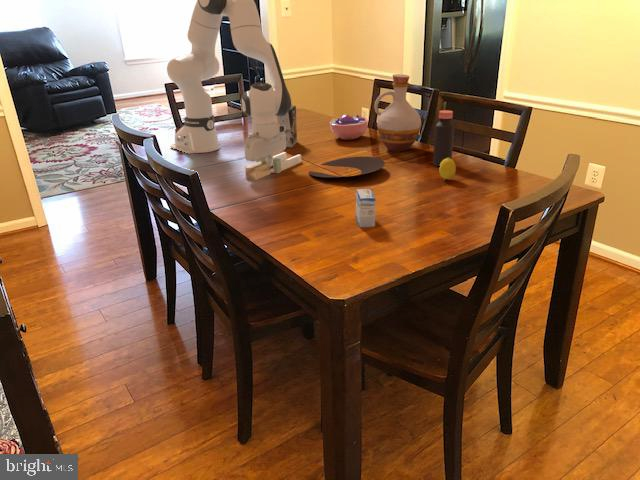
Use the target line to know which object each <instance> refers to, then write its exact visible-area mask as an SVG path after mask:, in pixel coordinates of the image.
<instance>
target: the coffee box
mask: <svg viewBox="0 0 640 480" xmlns="http://www.w3.org/2000/svg"><path fill="white" fill-rule="evenodd" d="M297 122H298V121H297V105H291V108H290V110H289V111H288V112H287V113H286V114H285V115H284V116H277V124H279V125H284V126H285V127H286V130H285V131H284V132H285V134H286V148H293V147H294V146H295V145H296V144H297V143H298V126H297V125H298V124H297Z"/></svg>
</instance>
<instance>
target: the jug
mask: <svg viewBox="0 0 640 480" xmlns="http://www.w3.org/2000/svg"><path fill="white" fill-rule="evenodd" d="M409 79H410V75H408V74H403V73H395V74H392V81H393V82H392V83H391V84H392V87H393V90H394V91H392V90H386V91H384V92H382V93H381V94H379V95H378V96H377V98H376V100H375V101H374V107H373V108H374V113H375V114H376V115H378V118H377V121H376V123H377V124H376V126H377V131H378V135H379V137H380V140H381V141H382V143H383V145H384V146H385V147H386V149H388V151H390V152H393V151H395V152H396V153H401V152H400V151H404V152H407V151H408V150H410V148H411V147H412V146H413V144H414V143H415V142H416V141H417V139H418V137H419V134H420V131H421V127H422V118H421V116H420V114H419V112H418V111H417V110H416V109H415V108H414V107H413V106H412V105H411V104H410V103H409V102H408V101H407V90H408V87H409V85H410V82H409ZM389 95H390V96H392V101H391V103H390V104H389V105H388V106H386V107H385V109H383V110H382V111H380V110H379V103H380V101H381V100H382V99H383V98H384V97H385V96H389ZM406 150H407V151H406ZM395 152H394V153H395Z"/></svg>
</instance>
